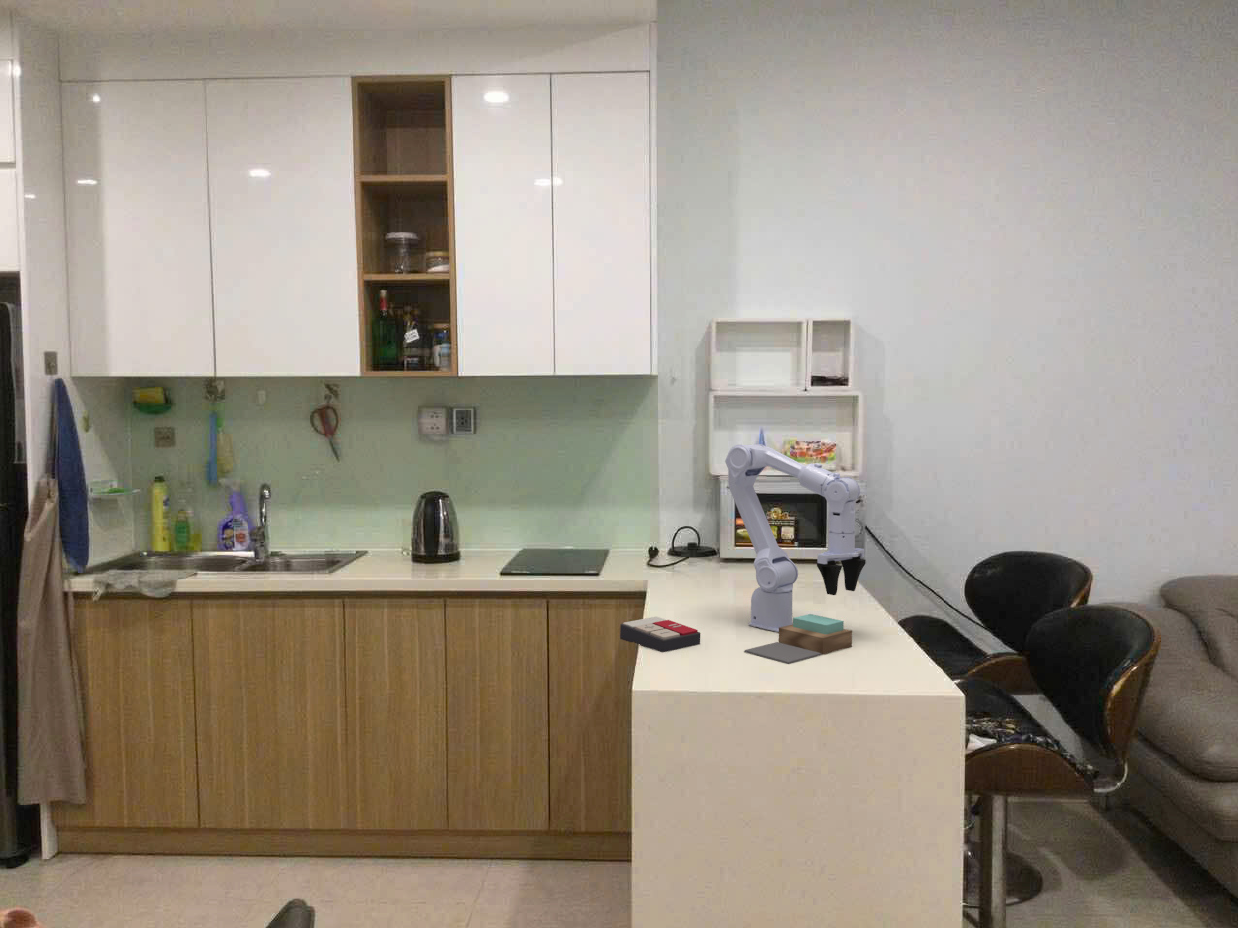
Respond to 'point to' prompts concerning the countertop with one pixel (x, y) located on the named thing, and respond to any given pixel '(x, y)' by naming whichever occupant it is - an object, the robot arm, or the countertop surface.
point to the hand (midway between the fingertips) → (841, 592)
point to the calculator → (659, 634)
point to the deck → (815, 639)
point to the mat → (782, 652)
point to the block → (818, 624)
